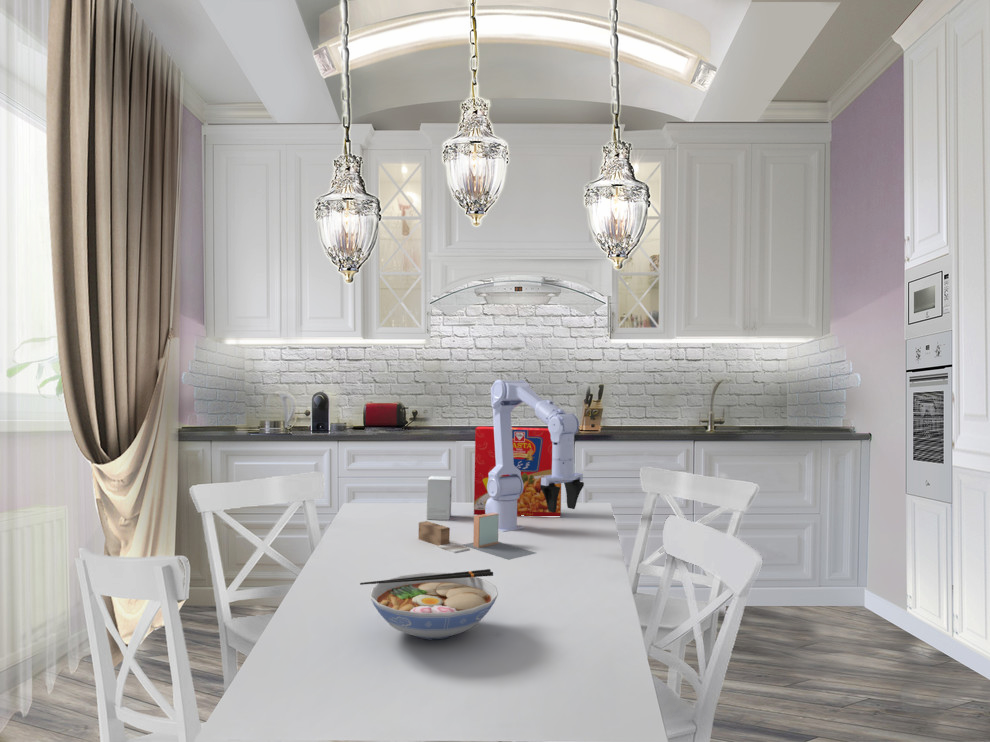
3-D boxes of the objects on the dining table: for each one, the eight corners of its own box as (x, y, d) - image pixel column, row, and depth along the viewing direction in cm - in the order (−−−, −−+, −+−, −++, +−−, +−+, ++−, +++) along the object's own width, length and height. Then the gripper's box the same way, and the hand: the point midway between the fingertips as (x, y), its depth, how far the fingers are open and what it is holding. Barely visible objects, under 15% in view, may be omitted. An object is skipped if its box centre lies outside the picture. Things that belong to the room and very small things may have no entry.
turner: (415, 541, 186) (415, 523, 186) (429, 538, 190) (430, 520, 190) (454, 554, 174) (454, 534, 174) (469, 551, 177) (469, 532, 177)
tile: (473, 546, 181) (473, 515, 181) (493, 542, 185) (493, 512, 185) (478, 547, 179) (479, 517, 179) (498, 543, 184) (499, 513, 184)
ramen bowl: (369, 666, 108) (370, 614, 108) (356, 615, 130) (357, 572, 130) (520, 650, 115) (521, 602, 115) (484, 605, 137) (485, 564, 137)
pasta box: (473, 514, 222) (475, 428, 222) (476, 509, 230) (478, 426, 230) (560, 518, 220) (562, 430, 220) (560, 512, 228) (562, 428, 228)
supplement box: (449, 520, 213) (450, 479, 213) (425, 519, 213) (426, 479, 213) (451, 515, 221) (452, 476, 221) (428, 514, 221) (429, 475, 221)
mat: (461, 546, 182) (461, 544, 182) (489, 540, 189) (489, 539, 189) (508, 561, 169) (508, 559, 169) (536, 554, 175) (536, 552, 175)
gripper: (555, 462, 175) (554, 516, 175) (592, 458, 185) (590, 509, 185) (535, 459, 180) (534, 511, 180) (572, 455, 190) (571, 504, 190)
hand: (561, 510), depth 183 cm, fingers open, 7 cm apart
